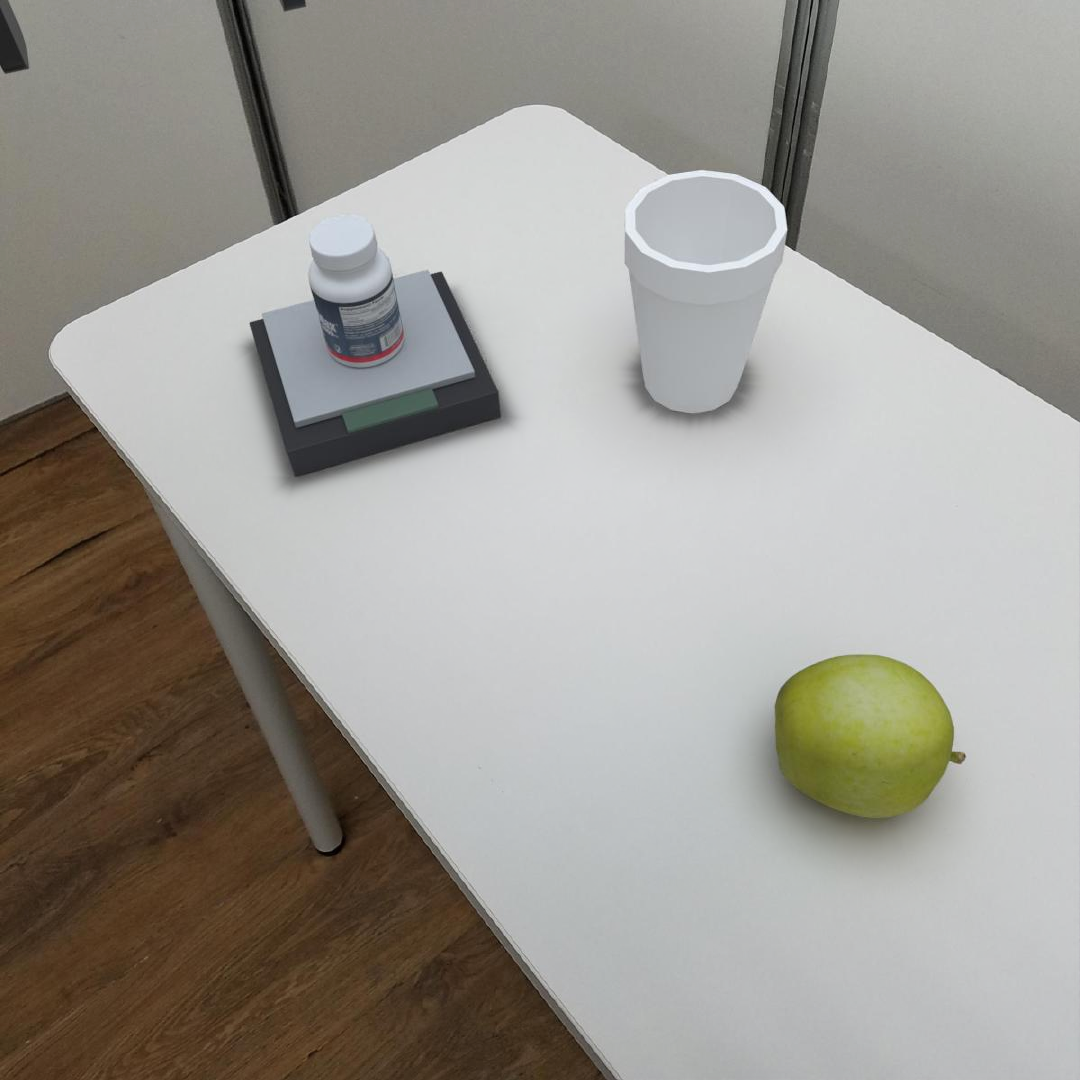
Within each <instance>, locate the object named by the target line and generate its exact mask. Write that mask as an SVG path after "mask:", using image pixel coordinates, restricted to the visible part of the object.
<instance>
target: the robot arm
mask: <svg viewBox="0 0 1080 1080" xmlns="http://www.w3.org/2000/svg"><path fill="white" fill-rule="evenodd" d="M278 1H279V3H280V5H281V8H282V10H283V12H289V11H293V10H297V9H302V8H306V7H307V3H306V0H278ZM28 55H29V54H28V48H27V43H26V40H25V37H24V33H23V31H22V29H21V26H20V24H19V22H18V19H17V17H16V14H15V12H14V10H13V8H12V5H11V3H10V1H9V0H0V68H1V70H2V72H3V73H4V75H7V74H12V73H16V72H21V71H26V70H29V69H30V63H29V56H28Z"/></svg>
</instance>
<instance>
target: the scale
mask: <svg viewBox="0 0 1080 1080" xmlns="http://www.w3.org/2000/svg"><path fill="white" fill-rule="evenodd" d="M393 280H394V286H395V291H396V297H397V302H398V306H399V311H400V316H401V320H402V325H403V329H404V341H403V344H402V347H401V348H400V350H399V351H398V352H397V353H396V354H395V355H394V356H393V357H392V358H391V359H389V360H387V361H386V362H384V363H381V364H379V365H376V366H372V367H363V368H358V367H350V366H347V365H344V364H342V363H340V362H338V361H336V360H335V359H334V358H333V357H332V356H331V354H330V353H329V351H328V349H327V346H326V342H325V339H324V335H323V331H322V327H321V323H320V320H319V316H318V313H317V309H316V305H315V301H314V299H312V300H308V301H305V302H300V303H297V304H293V305H290V306H285V307H281V308H278V309H273V310H271V311H267V312H262V313H261V317H262V318H261V319H257V320H253V321H250V322H249V327H250V330H251V334H252V338H253V341H254V345H255V349H256V351H257V355H258V359H259V362H260V365H261V368H262V372H263V376H264V379H265V383H266V386H267V389H268V394H269V397H270V400H271V404H272V407H273V410H274V414H275V417H276V420H277V425H278V428H279V431H280V436H281V439H282V442H283V445H284V448H285V453H286V455H287V458H288V461H289V463H290V468H291V469H292V473H293V475H294V477H300V476H304V475H306V474H310V473H313V472H317V471H320V470H325V469H327V468H331V467H334V466H338V465H341V464H344V463H348V462H351V461H354V460H355V461H356V460H358V459H362V458H365V457H369V456H371V455H376V454H378V453H379V454H380V453H382V452H386V451H390V450H392V449H396V448H400V447H403V446H406V445H410V444H413V443H416V442H420V441H424V440H427V439H430V438H433V437H437V436H441V435H444V434H447V433H448V434H449V433H451V432H454V431H457V430H461V429H464V428H468V427H471V426H474V425H477V424H478V425H479V424H481V423H485V422H488V421H491V420H495V419H499V418H501V417H502V412H501V403H500V393H499V390H498V388H497V386H496V384H495V381H494V379H493V377H492V375H491V373H490V371H489V369H488V366H487V364H486V363H485V359H484V358H483V356H482V354H481V352H480V349H479V347H478V345H477V343H476V341H475V338H474V337H473V335H472V332H471V330H470V328H469V326H468V324H467V322H466V320H465V318H464V315H463V313H462V311H461V309H460V308H459V305H458V303H457V301H456V298H455V296H454V294H453V292H452V289H451V288H450V286H449V284H448V281H447V279H446V276H445V275H444V273H443V271H437V272H433V273H430V271H429V269H425V270H421V271H417V272H414V273H410V274H406V275H403V276H402V275H401V276H398V277H395V278H393Z"/></svg>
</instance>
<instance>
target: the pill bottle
mask: <svg viewBox="0 0 1080 1080" xmlns="http://www.w3.org/2000/svg"><path fill="white" fill-rule="evenodd" d="M308 243H309V248H310V252H311V257H312V261H311V262H310V264H309V267H308V273H307V276H308V278H307V279H308V283H309V287H310V291H311V294H312V298H313V300H314V301H315V305H316V309H317V313H318V316H319V320H320V323H321V327H322V331H323V335H324V339H325V342H326V346H327V349H328V351H329V353H330V354H331V356H332V357H333V358H334V359H335V360H336V361H338V362H340V363H342V364H344V365H347V366H350V367H358V368H363V367H372V366H376V365H379V364H381V363H384V362H386V361H387V360H389V359H391V358H392V357H393V356H394V355H395V354H396V353H397V352H398V351H399V350H400V348H401V347H402V344H403V341H404V329H403V325H402V320H401V316H400V311H399V306H398V302H397V297H396V291H395V286H394V280H393V279H394V275H393V274H394V273H393V270H392V264H391V262H390V259H389V257H388V255H387V254H386V253H385V251H384V250H383V249H382V248H380V247H379V246H378V241H377V237H376V233H375V229H374V227H373V225H372V223H371V222H370V221H369V220H368V219H366V218H365V217H362V216H360V215H355V214H337V215H333V216H329V217H327V218H325V219H323V220H321V221H320V222H318V223H317V224H315V226H314V227H312V229H311V231H310V233H309V236H308Z"/></svg>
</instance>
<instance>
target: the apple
mask: <svg viewBox="0 0 1080 1080" xmlns="http://www.w3.org/2000/svg"><path fill="white" fill-rule="evenodd" d="M944 700H945V699H943V697H942V695H941V693H940V692H939V691H938V689H937V688H936V687H935V685H934V684H933V683H932V682H931V681H930V680H929V679H928V678H927V677H926V676H925V675H923V674H922V673H921V672H920V671H918V670H917V669H915V668H914V667H912V666H910V665H909V664H907V663H906V662H902V661H900V660H897V659H895V658H892V657H888V656H884V655H880V654H867V653H866V654H843V655H838V656H837V655H836V656H833V657H829V658H826V659H823V660H820V661H818V662H816V663H813V664H810V665H808V666H806V667H805V668H803V669H801V670H799V671H797V672H796V673H794V674H793V675H791V676H790V677H789V678H788V679H787V680H786V681H785V682H784V683H783V684H782V685H781V686H780V689H779V691H778V693H777V696H776V699H775V702H774V734H775V735H774V736H775V749H776V751H775V752H776V754H777V758H778V766H779V769H780V771H781V774H782V775H783V778H785V780H786V781H787V782H788V783H789V784H790V785H791V786H792V787H794V788H795V789H796V790H798V791H799V792H801V793H802V794H804V795H805V796H807V797H808V798H811V799H813V800H814V801H816V802H817V803H818V802H819V803H821V804H823V805H825V806H826V807H828V808H831V809H834V810H836V811H838V812H842V813H846V814H847V815H848V814H849V815H852V816H858V817H863V818H870V819H871V818H872V819H873V818H874V819H881V818H891V817H896V816H900V815H904V814H906V813H908V812H912V811H913V810H915V809H916V808H918V807H920V806H921V805H922V804H923V803H924V802H925V801H926V800H927V799H928V798H929V797H930V795H931V794H932V792H933V791H934V789H935V788H936V787H937V785H938V784H939V782H940V781H941V780H942V778H943V776H944V775H945V773H946V770H947V768H948V765H949V762H951V763H954V764H958V765H962V763H963V762H965V760H966V757H967V756H966V753H965V752H964V751H953V746H954V740H955V726H954V721H953V718H952V714H951V711H950V709H949V707H948V706H947V704H946V702H945V701H944Z"/></svg>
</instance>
